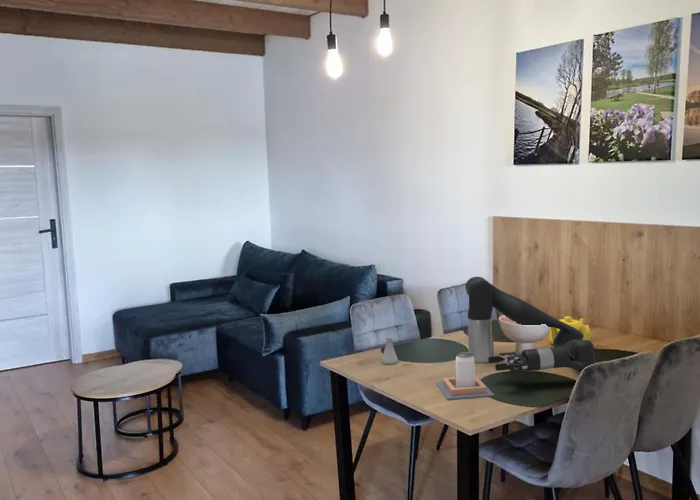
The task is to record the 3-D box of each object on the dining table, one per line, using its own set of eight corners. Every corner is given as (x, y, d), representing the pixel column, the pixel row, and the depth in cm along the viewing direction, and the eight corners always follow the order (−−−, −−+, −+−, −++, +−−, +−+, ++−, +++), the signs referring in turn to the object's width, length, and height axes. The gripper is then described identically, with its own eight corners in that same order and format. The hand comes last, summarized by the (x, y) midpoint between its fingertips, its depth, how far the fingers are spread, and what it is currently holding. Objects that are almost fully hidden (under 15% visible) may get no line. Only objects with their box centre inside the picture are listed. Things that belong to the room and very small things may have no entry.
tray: (479, 380, 219) (479, 373, 219) (494, 396, 203) (493, 388, 203) (436, 383, 218) (435, 376, 217) (447, 400, 202) (447, 392, 202)
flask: (397, 365, 241) (396, 340, 240) (379, 364, 242) (378, 340, 241) (399, 359, 248) (399, 335, 247) (382, 359, 249) (381, 335, 248)
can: (454, 385, 214) (453, 352, 212) (472, 384, 214) (471, 351, 212) (458, 391, 207) (457, 357, 206) (477, 390, 207) (476, 356, 206)
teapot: (592, 350, 248) (592, 321, 246) (550, 350, 251) (550, 322, 249) (584, 339, 264) (584, 312, 263) (544, 338, 267) (544, 312, 266)
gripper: (545, 376, 205) (498, 380, 204) (531, 363, 219) (486, 367, 218) (544, 354, 204) (497, 359, 203) (530, 343, 218) (485, 347, 217)
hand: (491, 363), depth 211 cm, fingers open, 8 cm apart
